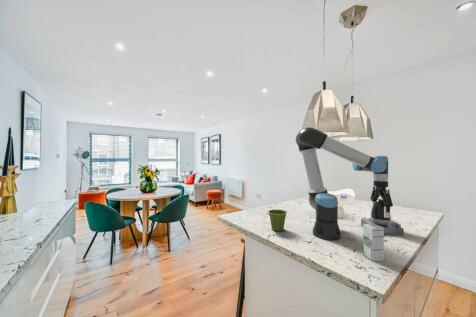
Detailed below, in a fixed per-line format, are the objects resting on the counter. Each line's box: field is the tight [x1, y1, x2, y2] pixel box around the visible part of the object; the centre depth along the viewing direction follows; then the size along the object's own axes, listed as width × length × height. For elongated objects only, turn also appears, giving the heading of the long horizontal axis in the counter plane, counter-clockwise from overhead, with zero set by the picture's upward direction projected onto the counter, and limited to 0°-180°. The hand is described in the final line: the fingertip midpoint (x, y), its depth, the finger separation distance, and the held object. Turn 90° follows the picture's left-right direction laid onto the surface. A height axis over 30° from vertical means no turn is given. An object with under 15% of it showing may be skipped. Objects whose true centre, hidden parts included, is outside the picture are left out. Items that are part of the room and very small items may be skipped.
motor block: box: [360, 216, 405, 237], centre depth 125 cm, size 16×20×6 cm
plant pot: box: [267, 209, 288, 232], centre depth 124 cm, size 12×12×11 cm
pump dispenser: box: [370, 198, 392, 225], centre depth 123 cm, size 10×10×15 cm
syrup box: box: [362, 224, 385, 262], centre depth 88 cm, size 6×6×14 cm
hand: (380, 214), depth 123 cm, fingers open, 13 cm apart
